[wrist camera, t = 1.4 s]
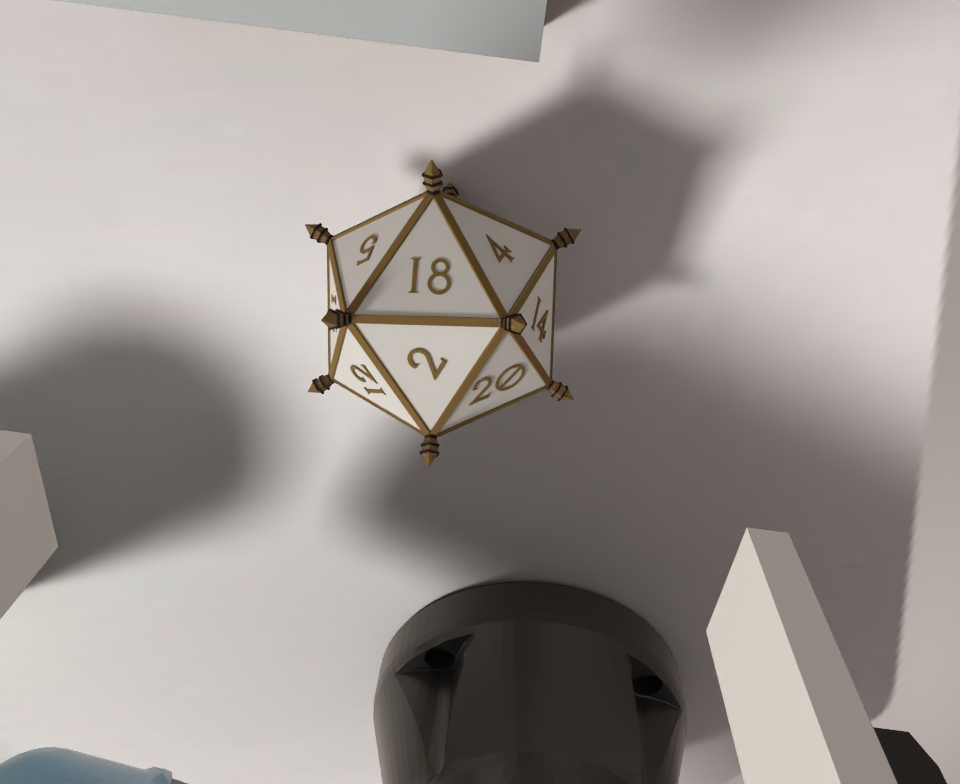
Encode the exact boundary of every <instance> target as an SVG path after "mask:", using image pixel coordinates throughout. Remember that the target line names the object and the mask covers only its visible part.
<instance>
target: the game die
mask: <svg viewBox="0 0 960 784" xmlns="http://www.w3.org/2000/svg"><path fill="white" fill-rule="evenodd" d="M422 176H423V177H424V182H423V184H424V185H425V186H426V188H427V191H426V192H424V193H422V194H420V195H418V196H416V197H413V198H411V199H409V200H407V201H405V202H403V203H401V204H399V205H397V206H395V207H393V208H391V209H389V210H387V211H384V212H382V213H380V214H378V215H376V216H374V217H372V218H370V219H368V220H366V221H364V222H362V223H360V224H358V225H355V226H353V227H351V228H349V229H347V230H345V231H343V232H341V233H339V234H337V235H335V236H333V235H331V234H330V233H329V232H328V228H324V227H322V226H321V225H322V224H321V223H320V224H318V225H305V226H306V228H307V230H308V232H309V234H310V238H311V239H315V240H317V241H316V242H318V243H321V242H322V243H325V244H326V245H327V281H328V312H327V314H326V315H325V316H324V317H323V319H322V320H321V321H322V322H324V323H325V324H326V325H327V326H328V364H329V374H328V375H325V376H323V375H322V376H320V377H319V379H317V378H316V379H314V380H312V381H313V383H312V385H311V387H310V389H309V391H308V392H318V393H322V394H324V391H325V390H329V389H330V386H331V385H332V384H333V383H336V384H338V385H340V386H342V387H343V388H345V389H347V390H348V391H350V392H352V393H353V394H355V395H357V396H358V397H360V398H362V399H363V400H365V401H367V402H368V403H370V404H372V405H374V406H375V407H377V408H379V409H380V410H382V411H384V412H385V413H387V414H389V415H390V416H392V417H394V418H395V419H397V420H399V421H400V422H402V423H404V424H406V425H407V426H409V427H411V428H412V429H414V430H416V431H417V432H419V433H421V434H422V435H424V436H425V440H424V442H423V443H422V444H421V446H422V451H420V454H421V455H422V456H423V457H424V459H425V461H426V463H427V465H428V467H429V466H430V465H431V463H432V462H433V460H434V459H435V457H437V456H438V455H439V452H438V447H439V444H438V443H437V439H436V438H437V437H439V436H442V435H444V434H446V433H448V432H451V431H453V430H455V429H457V428H459V427H462V426H464V425H466V424H468V423H471V422H473V421H475V420H477V419H480V418H482V417H484V416H486V415H489V414H491V413H493V412H495V411H497V410H500V409H502V408H504V407H506V406H509V405H511V404H513V403H515V402H518V401H520V400H522V399H524V398H526V397H529V396H531V395H533V394H535V393H538V392H540V391H542V390H544V389H547V390H549V391H550V393H551V394H552V395H551V396H552V397H553V396H555V397H556V398H557V399H558V400H557V401H560V400H574V399H573V397H572V396H571V394H570V392H569V390H568V386H567V385H566V387H565V386H564V385H562V383H561V382H559V383H558V382H555V381H553V380H552V365H553V340H554V314H555V289H556V263H557V250H558V249H559V248H562V247H565V248H566V247H568V246H567V245H569V244H571V243H572V244H573V243H574V240H575V239H576V237H577V236H578V234H579V232H580V231H581V230H579V229H566V228H564V231H562V232H561V233H559V232H558V235H557V236H556V237H555V238H554V239H553V240H550V239H548V238H545V237H543V236H541V235H539V234H536V233H534V232H532V231H530V230H528V229H525V228H523V227H521V226H519V225H516V224H514V223H512V222H510V221H507V220H505V219H503V218H501V217H498V216H496V215H494V214H492V213H489V212H487V211H485V210H483V209H481V208H478V207H476V206H474V205H472V204H469V203H467V202H465V201H463V200H460V199H458V198H457V195H458V194H459V193H458V191H457V190H456V188H455V187H453V185H452V184H451V182H450V183H449V184H448V185H447V186H446V187H444V188H443V191H440V190H439V189H440V186H441V185H443V182H442V180H441V177H443V174H442V172H441V170H440V169H438V168H437V167H436V165H435V164H434V162H433V161H432V160H431V162H430V164H429V166H428V167H427V169H426V171H425V172H424V173H423V174H422Z"/></svg>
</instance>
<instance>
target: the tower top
mask: <svg viewBox="0 0 960 784" xmlns="http://www.w3.org/2000/svg"><path fill="white" fill-rule="evenodd" d="M54 1H62V2H70V3H78V4H85V5H93V6H101V7H109V8H117V9H125V10H132V11H140V12H148V13H156V14H164V15H172V16H179V17H187V18H195V19H203V20H211V21H219V22H226V23H234V24H242V25H250V26H258V27H266V28H273V29H281V30H289V31H297V32H305V33H313V34H321V35H328V36H336V37H344V38H352V39H360V40H368V41H375V42H383V43H391V44H399V45H407V46H415V47H422V48H430V49H438V50H446V51H454V52H462V53H469V54H477V55H485V56H493V57H501V58H509V59H516V60H524V61H532V62H539V57H540V49H541V42H542V35H543V28H544V20H545V13H546V6H547V0H54Z"/></svg>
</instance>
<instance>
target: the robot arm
mask: <svg viewBox="0 0 960 784" xmlns="http://www.w3.org/2000/svg"><path fill="white" fill-rule="evenodd" d="M57 548H58V543H57V539H56V535H55V531H54V526H53V522H52V518H51V514H50V510H49V506H48V501H47V497H46V493H45V489H44V485H43V481H42V476H41V472H40V468H39V464H38V460H37V456H36V451H35V447H34V443H33V439H32V435H31V434H29V433H21V432H13V431H6V430H0V619H1V618H2V617H3V615H4V614H5V613H6V612H7V610H8V609H9V608H10V607H11V605H12V604H13V603H14V602H15V600H16V599H17V598H18V597H19V595H20V594H21V593H22V592H23V590H24V589H25V588H26V587H27V585H28V584H29V583H30V582H31V580H32V579H33V578H34V577H35V575H36V574H37V573H38V572H39V570H40V569H41V568H42V567H43V565H44V564H45V563H46V562H47V560H48V559H49V558H50V557H51V555H52V554H53V553H54V552H55V550H56V549H57ZM706 633H707V637H708V641H709V645H710V649H711V653H712V657H713V661H714V665H715V669H716V673H717V677H718V681H719V684H720V688H721V692H722V696H723V700H724V704H725V708H726V712H727V716H728V720H729V724H730V728H731V732H732V736H733V740H734V744H735V748H736V752H737V756H738V760H739V764H740V768H741V772H742V776H743V780H744V784H947V783H946V781H945V779H944V777H943V775H942V773H941V771H940V769H939V767H938V766H937V764H936V763H935V762H934V761H933V760H932V759H931V757H930V756H929V755H928V754H927V753H926V752H925V750H924V749H923V748H922V747H921V746H920V745H919V744H918V742H917V741H916V740H915V739H914V738H913V737H912V735H911V734H910V733H909V732H904V731H897V730H889V729H881V728H874V727H873V726H872V724H871V721H870V719H869V717H868V715H867V712H866V710H865V708H864V705H863V703H862V701H861V698H860V696H859V694H858V692H857V689H856V687H855V685H854V682H853V680H852V678H851V675H850V673H849V671H848V669H847V666H846V664H845V662H844V659H843V657H842V655H841V652H840V650H839V648H838V646H837V643H836V641H835V639H834V636H833V634H832V632H831V629H830V627H829V625H828V623H827V620H826V618H825V616H824V613H823V611H822V609H821V606H820V604H819V602H818V600H817V597H816V595H815V593H814V590H813V588H812V586H811V583H810V581H809V579H808V577H807V574H806V572H805V570H804V567H803V565H802V563H801V560H800V558H799V556H798V554H797V551H796V549H795V547H794V544H793V542H792V540H791V537H790V535H789V533H786V532H779V531H771V530H763V529H756V528H748V527H747V528H746V531H745V533H744V536H743V538H742V541H741V544H740V546H739V549H738V551H737V554H736V556H735V559H734V561H733V564H732V566H731V569H730V571H729V574H728V577H727V579H726V582H725V584H724V587H723V589H722V592H721V594H720V597H719V599H718V602H717V604H716V607H715V609H714V612H713V615H712V617H711V620H710V622H709V625H708V627H707V630H706ZM374 727H375V734H376V741H377V747H378V754H379V761H380V768H381V775H382V782H383V784H678V781H679V774H680V768H681V762H682V756H683V749H684V743H685V737H686V708H685V702H684V697H683V692H682V687H681V682H680V677H679V672H678V668H677V665H676V662H675V660H674V657H673V655H672V653H671V651H670V649H669V648H668V646H667V645H666V643H665V642H664V641H663V639H662V638H661V637H660V635H659V634H658V633H657V632H656V631H655V630H654V629H653V628H652V627H651V626H650V625H649V624H647V623H646V622H645V621H644V620H643V619H641V618H640V617H639V616H637V615H636V614H634V613H633V612H631V611H630V610H628V609H626V608H624V607H623V606H621V605H619V604H617V603H615V602H613V601H611V600H608V599H606V598H604V597H601V596H599V595H596V594H593V593H590V592H587V591H583V590H579V589H575V588H571V587H566V586H560V585H554V584H545V583H528V582H523V583H502V584H494V585H487V586H482V587H477V588H473V589H469V590H465V591H462V592H459V593H456V594H453V595H450V596H448V597H445V598H443V599H441V600H439V601H437V602H435V603H433V604H431V605H429V606H427V607H426V608H424V609H423V610H421V611H420V612H418V613H417V614H416V615H414V616H413V617H412V618H410V619H409V620H408V621H407V622H406V623H405V624H404V625H403V626H402V627H401V628H400V629H399V630H398V632H397V633H396V634H395V636H394V637H393V638H392V640H391V642H390V643H389V645H388V647H387V649H386V651H385V654H384V657H383V660H382V664H381V669H380V674H379V678H378V683H377V688H376V693H375V699H374ZM0 784H187V783H184V782H181V781H178V780H175V779H172V773H171V771H168V770H166V769H161V768H158V767H152V768H149V769H146V770H143V769H140V768H136V767H132V766H128V765H125V764H121V763H117V762H114V761H110V760H106V759H102V758H99V757H95V756H91V755H88V754H84V753H80V752H77V751H73V750H69V749H64V748H57V747H46V748H39V749H34V750H30V751H27V752H24V753H21V754H18V755H16V756H14V757H12V758H10V759H8V760H7V761H5V762H3V763H2V764H0Z"/></svg>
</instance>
